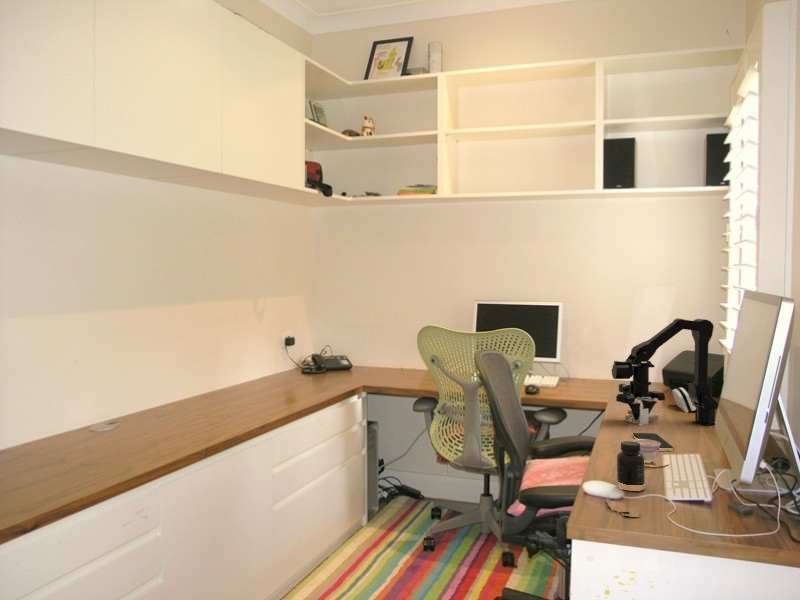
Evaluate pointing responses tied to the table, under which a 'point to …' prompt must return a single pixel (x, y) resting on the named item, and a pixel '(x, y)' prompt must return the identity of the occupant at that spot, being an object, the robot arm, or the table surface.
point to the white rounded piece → (683, 400)
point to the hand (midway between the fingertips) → (640, 419)
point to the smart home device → (653, 437)
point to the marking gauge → (641, 416)
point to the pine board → (651, 417)
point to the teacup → (648, 448)
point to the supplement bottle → (630, 464)
